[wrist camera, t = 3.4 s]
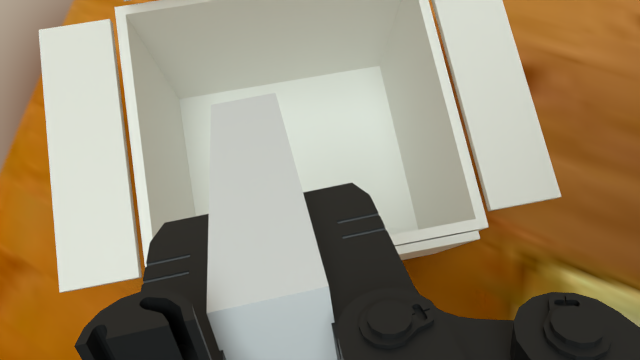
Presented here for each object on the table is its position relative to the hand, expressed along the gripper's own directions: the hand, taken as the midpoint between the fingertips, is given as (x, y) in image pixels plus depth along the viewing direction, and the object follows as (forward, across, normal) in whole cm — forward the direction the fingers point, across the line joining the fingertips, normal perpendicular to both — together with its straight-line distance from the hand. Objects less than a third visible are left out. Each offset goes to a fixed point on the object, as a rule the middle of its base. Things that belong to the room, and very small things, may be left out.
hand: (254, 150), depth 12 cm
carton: (+21, +2, -13) cm, 24 cm away
